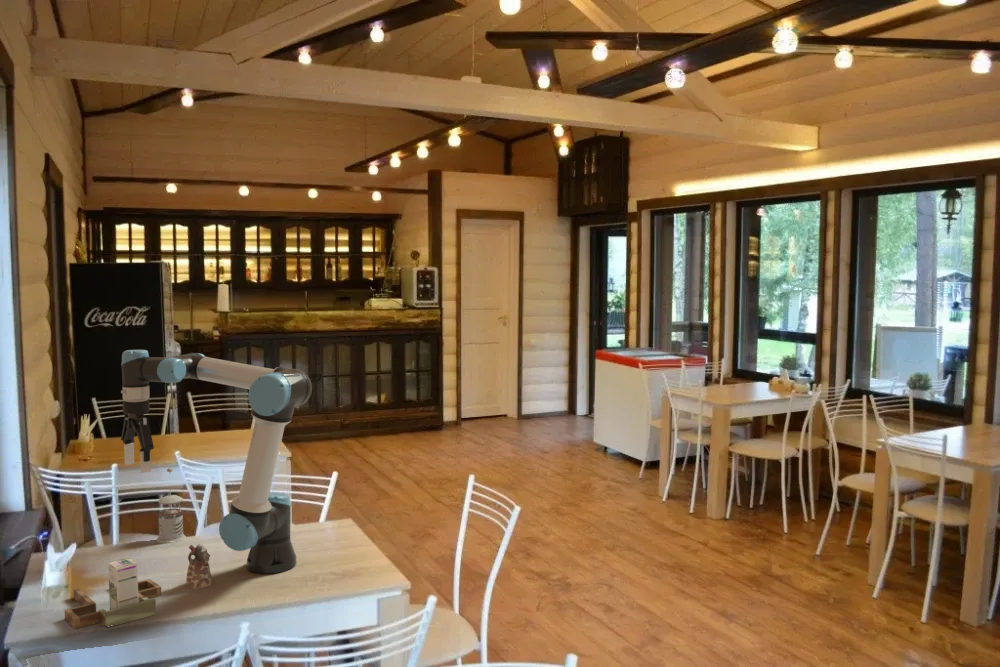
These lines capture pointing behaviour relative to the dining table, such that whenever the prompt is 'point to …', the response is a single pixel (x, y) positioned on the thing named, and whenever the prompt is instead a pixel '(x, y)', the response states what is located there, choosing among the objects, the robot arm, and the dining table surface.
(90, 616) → the channel
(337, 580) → the dining table surface
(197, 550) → the figurine
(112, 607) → the syrup box
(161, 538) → the french press
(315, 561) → the dining table surface
